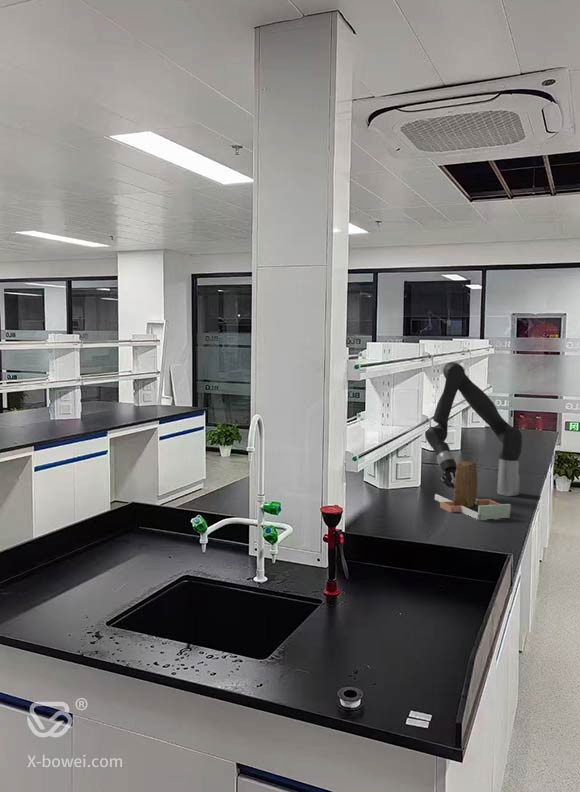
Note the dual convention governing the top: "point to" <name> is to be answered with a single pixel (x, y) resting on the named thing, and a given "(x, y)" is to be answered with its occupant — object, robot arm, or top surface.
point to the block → (465, 484)
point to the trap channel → (485, 508)
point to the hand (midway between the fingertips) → (459, 494)
